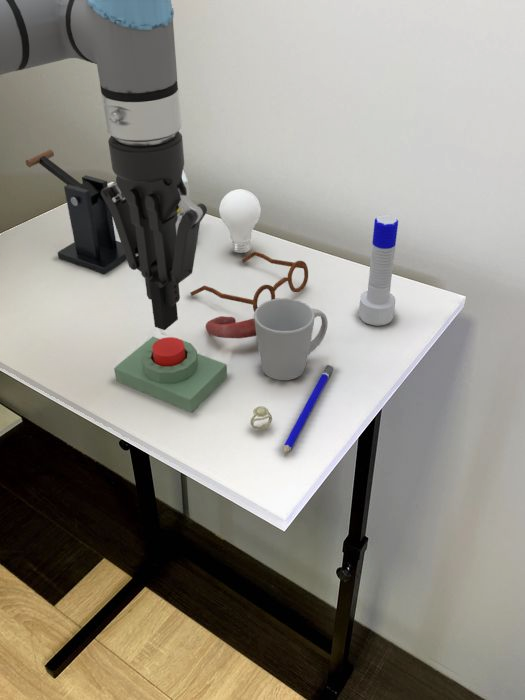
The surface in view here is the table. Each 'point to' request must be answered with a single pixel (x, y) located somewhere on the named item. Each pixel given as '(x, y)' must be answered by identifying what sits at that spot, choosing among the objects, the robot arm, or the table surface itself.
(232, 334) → the red curved piece
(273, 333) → the cup
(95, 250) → the bracket
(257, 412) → the ring
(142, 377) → the control block
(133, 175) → the robot arm
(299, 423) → the pencil
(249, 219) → the light bulb
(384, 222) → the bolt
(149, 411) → the table surface
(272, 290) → the glasses
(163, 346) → the button
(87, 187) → the lever
